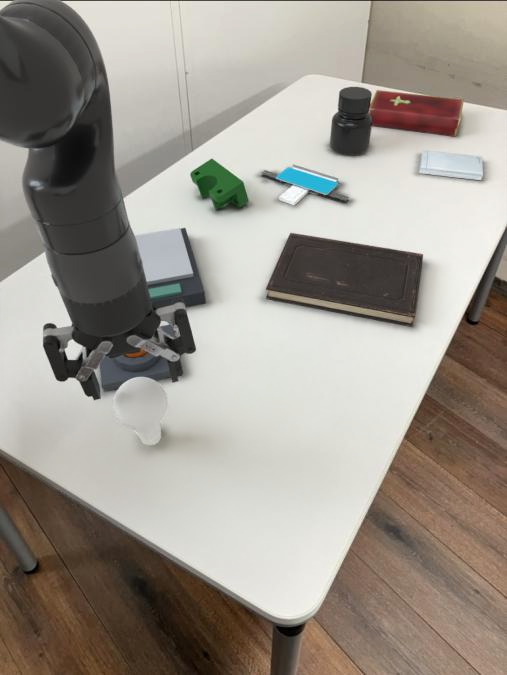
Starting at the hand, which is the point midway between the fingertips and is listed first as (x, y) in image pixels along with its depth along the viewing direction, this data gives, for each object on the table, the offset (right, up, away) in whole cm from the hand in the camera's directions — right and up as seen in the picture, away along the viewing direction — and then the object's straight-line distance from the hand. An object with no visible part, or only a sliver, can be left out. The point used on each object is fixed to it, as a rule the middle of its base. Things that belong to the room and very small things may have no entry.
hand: (136, 384), depth 56 cm
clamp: (+6, +33, +46) cm, 57 cm away
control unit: (-3, +2, +17) cm, 18 cm away
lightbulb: (0, -8, +8) cm, 12 cm away
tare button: (-3, +4, +15) cm, 16 cm away
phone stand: (+23, +35, +48) cm, 64 cm away
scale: (-4, +15, +30) cm, 34 cm away
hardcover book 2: (+52, +58, +68) cm, 104 cm away
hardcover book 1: (+28, +15, +28) cm, 43 cm away
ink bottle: (+35, +48, +60) cm, 85 cm away
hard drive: (+55, +41, +53) cm, 87 cm away
